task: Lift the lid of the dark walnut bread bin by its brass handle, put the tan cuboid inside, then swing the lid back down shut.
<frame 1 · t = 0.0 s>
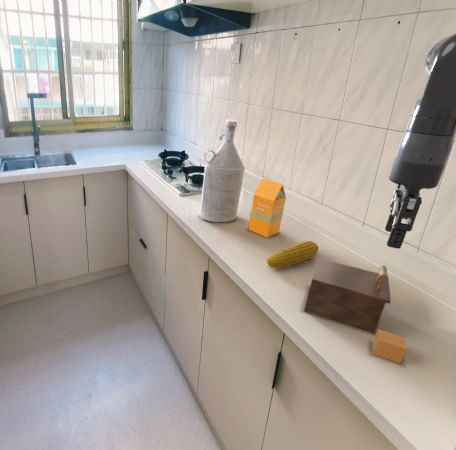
hand: (391, 238, 67), 26 cm above the worktop, tool pointing down, fingers open, 8 cm apart
tan cuboid: (385, 353, 74), on the worktop
orange juice: (263, 231, 131), on the worktop
grey jug: (217, 217, 143), on the worktop
bread bin: (339, 308, 88), on the worktop
bread lid: (352, 271, 83), point 11 cm above the worktop, hinge at 0.0°
food: (291, 263, 109), on the worktop
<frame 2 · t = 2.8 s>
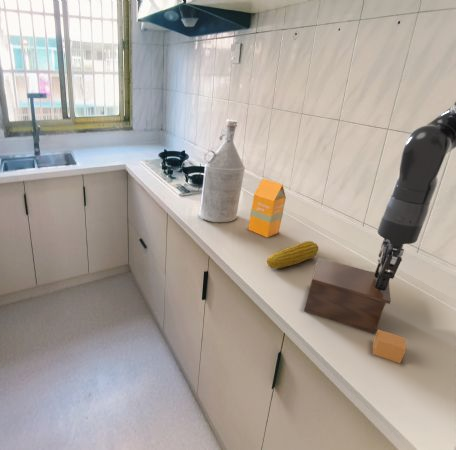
hand: (379, 282, 81), 10 cm above the worktop, tool pointing down, fingers closed on bread lid, 5 cm apart
bread lid: (352, 271, 83), point 11 cm above the worktop, hinge at 0.0°, touching gripper
everything else where it was.
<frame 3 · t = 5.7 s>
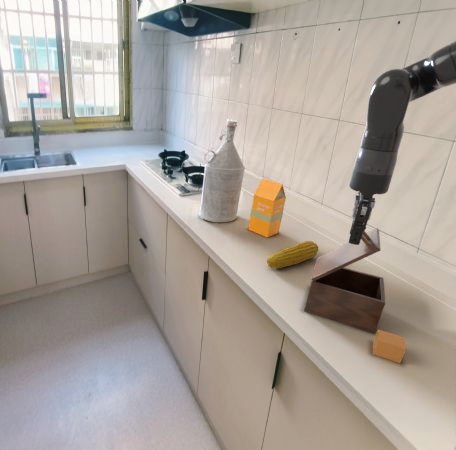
hand: (354, 238, 81), 20 cm above the worktop, tool pointing down, fingers closed on bread lid, 5 cm apart
bread lid: (339, 247, 83), point 17 cm above the worktop, hinge at 47.2°, touching gripper
everything else where it was.
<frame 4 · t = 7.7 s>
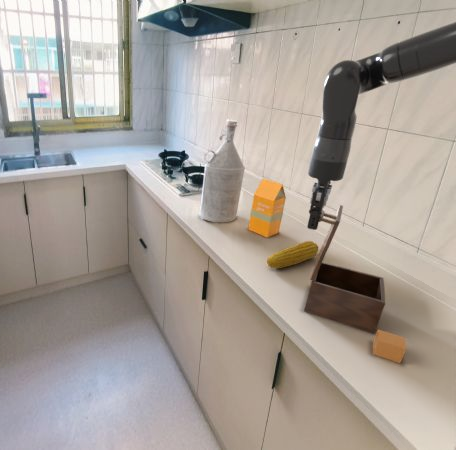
hand: (313, 224, 84), 21 cm above the worktop, tool pointing down, fingers closed on bread lid, 5 cm apart
bread lid: (318, 239, 85), point 18 cm above the worktop, hinge at 82.9°, touching gripper
everything else where it was.
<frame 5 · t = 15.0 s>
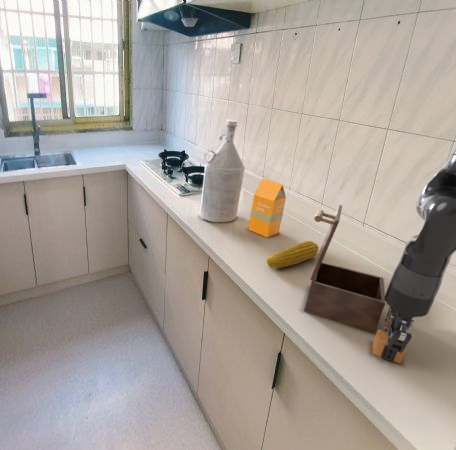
hand: (386, 352, 74), 0 cm above the worktop, tool pointing down, fingers closed on tan cuboid, 4 cm apart
tan cuboid: (385, 353, 74), on the worktop, touching gripper
bread lid: (317, 239, 85), point 18 cm above the worktop, hinge at 83.5°
everything else where it was.
when the fingers open (8 cm above the worktop, at t = 20.3 s): tan cuboid drops 7 cm, resting on bread bin.
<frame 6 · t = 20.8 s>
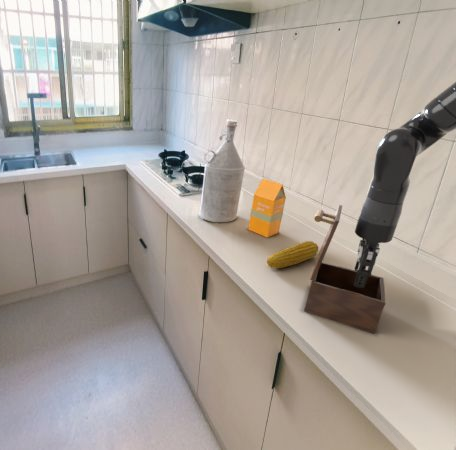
hand: (358, 278, 83), 10 cm above the worktop, tool pointing down, fingers open, 8 cm apart
tan cuboid: (348, 308, 87), point 1 cm above the worktop, touching bread bin
everything else where it was.
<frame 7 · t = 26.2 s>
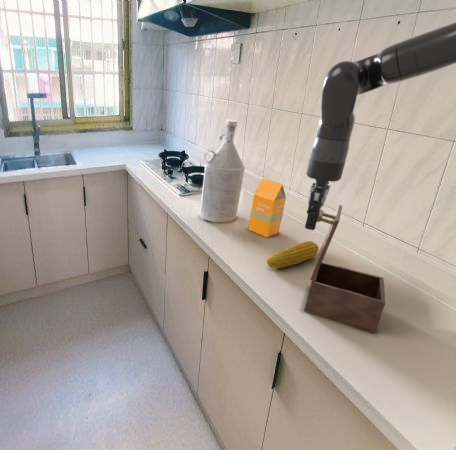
hand: (311, 224, 85), 21 cm above the worktop, tool pointing down, fingers closed on bread lid, 5 cm apart
bread lid: (317, 239, 85), point 18 cm above the worktop, hinge at 83.5°, touching gripper
everything else where it was.
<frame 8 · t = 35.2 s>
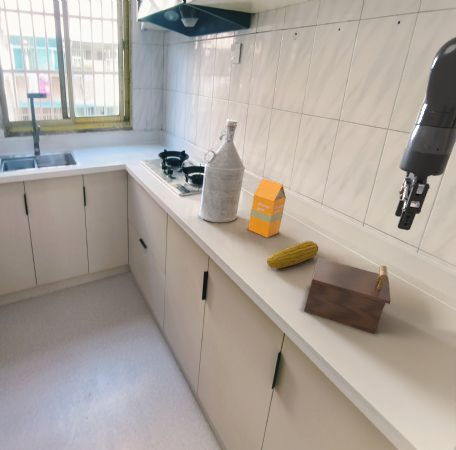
hand: (401, 222, 75), 26 cm above the worktop, tool pointing down, fingers open, 8 cm apart
bread lid: (352, 271, 83), point 11 cm above the worktop, hinge at -0.2°, touching bread bin
everything else where it was.
at the end: tan cuboid inside the target area in the bread bin (2.0 cm from its centre), point 0.8 cm above the bread bin's base; bread lid reached +84° during the clip, +0° at the end; bread lid at +0° (first picture: +0°) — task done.
